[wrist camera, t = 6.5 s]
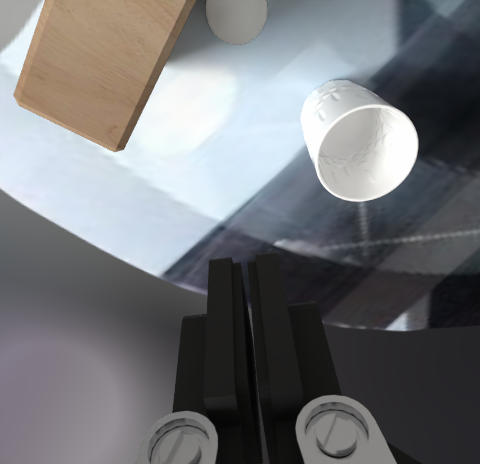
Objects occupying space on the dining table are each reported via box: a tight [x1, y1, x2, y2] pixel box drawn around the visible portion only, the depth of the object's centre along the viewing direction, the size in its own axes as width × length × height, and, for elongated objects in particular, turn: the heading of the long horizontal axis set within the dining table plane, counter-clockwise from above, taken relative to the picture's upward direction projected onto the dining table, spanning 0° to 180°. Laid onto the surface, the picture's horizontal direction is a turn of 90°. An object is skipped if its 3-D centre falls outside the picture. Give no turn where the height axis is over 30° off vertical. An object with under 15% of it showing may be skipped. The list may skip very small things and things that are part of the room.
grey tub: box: [206, 0, 268, 45], centre depth 35 cm, size 4×4×6 cm
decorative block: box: [14, 0, 196, 152], centre depth 28 cm, size 11×6×20 cm, turn 147°
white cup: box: [300, 80, 418, 201], centre depth 39 cm, size 8×8×10 cm
